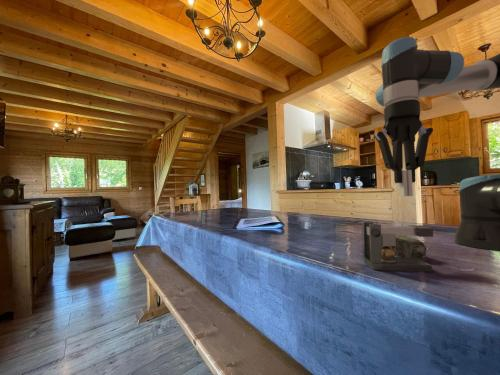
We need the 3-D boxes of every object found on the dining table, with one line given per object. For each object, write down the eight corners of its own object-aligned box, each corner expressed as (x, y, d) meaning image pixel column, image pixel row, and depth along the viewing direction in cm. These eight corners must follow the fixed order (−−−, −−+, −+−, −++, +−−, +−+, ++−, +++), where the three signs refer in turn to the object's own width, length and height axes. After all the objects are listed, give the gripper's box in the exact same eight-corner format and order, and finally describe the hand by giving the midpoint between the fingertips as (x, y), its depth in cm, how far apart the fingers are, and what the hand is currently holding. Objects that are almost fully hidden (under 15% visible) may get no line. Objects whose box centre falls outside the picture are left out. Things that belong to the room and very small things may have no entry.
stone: (424, 269, 64) (438, 242, 60) (409, 277, 61) (423, 250, 57) (381, 240, 75) (390, 216, 71) (366, 246, 72) (375, 222, 68)
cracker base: (416, 262, 58) (414, 221, 58) (432, 272, 52) (430, 225, 52) (363, 261, 60) (361, 221, 60) (372, 270, 54) (371, 225, 54)
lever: (421, 242, 57) (421, 225, 57) (433, 247, 52) (433, 228, 53) (365, 242, 59) (364, 225, 59) (372, 246, 55) (371, 228, 55)
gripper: (421, 106, 59) (425, 194, 58) (367, 111, 61) (371, 196, 60) (440, 95, 51) (446, 195, 51) (379, 100, 53) (383, 197, 53)
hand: (405, 195), depth 56 cm, fingers closed
